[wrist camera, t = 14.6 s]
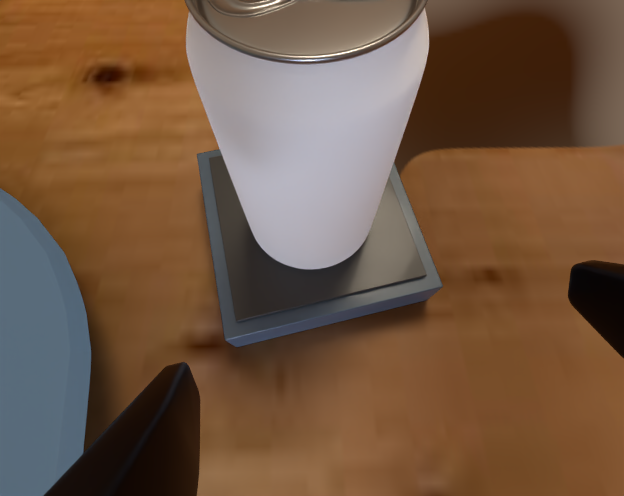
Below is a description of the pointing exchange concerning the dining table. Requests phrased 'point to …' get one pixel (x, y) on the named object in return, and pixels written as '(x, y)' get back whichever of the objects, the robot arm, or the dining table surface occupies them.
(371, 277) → the riser
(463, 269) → the dining table surface
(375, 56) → the can
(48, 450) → the serving platter
